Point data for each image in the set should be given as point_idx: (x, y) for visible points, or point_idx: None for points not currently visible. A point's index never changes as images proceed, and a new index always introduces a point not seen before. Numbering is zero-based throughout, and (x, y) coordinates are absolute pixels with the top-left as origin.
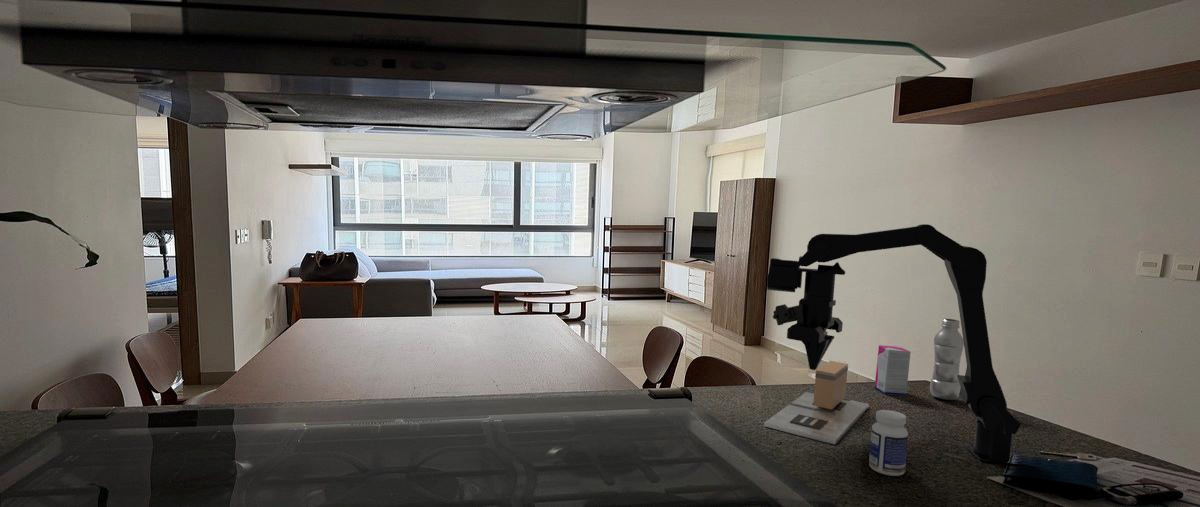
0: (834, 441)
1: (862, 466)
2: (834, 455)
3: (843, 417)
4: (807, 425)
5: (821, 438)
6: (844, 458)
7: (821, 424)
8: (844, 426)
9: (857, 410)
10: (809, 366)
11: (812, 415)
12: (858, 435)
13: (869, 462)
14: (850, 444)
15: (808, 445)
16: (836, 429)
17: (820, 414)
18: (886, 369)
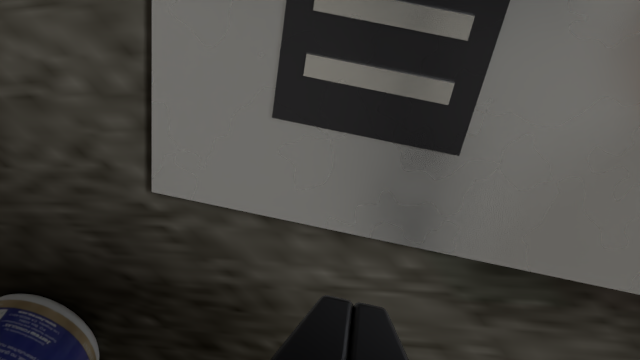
0: (152, 186)
1: (3, 269)
2: (25, 178)
3: (606, 234)
4: (287, 43)
5: (153, 126)
6: (27, 214)
7: (364, 123)
8: (421, 235)
9: None
10: (307, 315)
11: (560, 55)
12: (381, 276)
13: (1, 302)
14: (222, 240)
15: (50, 61)
16: (339, 197)
17: (611, 105)
18: None
